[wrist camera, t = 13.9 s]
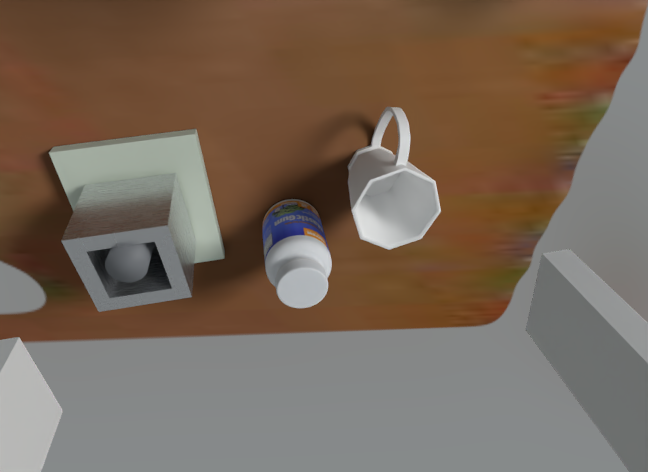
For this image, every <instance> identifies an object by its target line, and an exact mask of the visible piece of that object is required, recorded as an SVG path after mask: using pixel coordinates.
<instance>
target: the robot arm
mask: <svg viewBox="0 0 648 472" xmlns="http://www.w3.org/2000/svg"><path fill="white" fill-rule="evenodd" d="M526 331H527V332H528V334H529V335H530V337H531V338H532V339H533V341H534V342H535V343H536V345H537V346H538V347H539V349H540V350H541V352H542V353H543V354H544V356H545V357H546V358H547V360H548V361H549V362H550V364H551V365H552V367H553V368H554V369H555V371H556V372H557V373H558V374H559V376H560V377H561V379H562V380H563V382H564V383H565V384H566V386H567V387H568V388H569V390H570V391H571V393H572V394H573V395H574V397H575V398H576V399H577V401H578V402H579V403H580V405H581V406H582V408H583V409H584V410H585V412H586V413H587V414H588V416H589V417H590V418H591V420H592V421H593V423H594V424H595V425H596V427H597V428H598V429H599V431H600V432H601V433H602V435H603V436H604V438H605V439H606V440H607V442H608V443H609V444H610V446H611V447H612V448H613V450H614V451H615V453H616V454H617V455H618V457H619V458H620V459H621V461H622V462H623V463H624V465H625V466H626V467H627V469H628V470H629V472H648V323H647V322H646V321H645V320H644V319H643V318H642V317H641V316H640V315H639V314H638V313H637V312H636V311H635V310H634V309H633V308H631V307H630V306H629V305H628V304H627V303H626V302H625V301H624V300H623V299H622V298H621V297H620V296H619V295H618V294H617V293H616V292H615V291H614V290H612V289H611V288H610V287H609V286H608V285H607V284H606V283H605V282H604V281H603V280H602V279H601V278H600V277H599V276H598V275H597V274H596V273H594V272H593V271H592V270H591V269H590V268H589V267H588V266H587V265H586V264H585V263H584V262H583V261H582V260H581V259H580V258H578V256H576V255H575V254H574V253H573V252H572V251H571V250H570V249H567V250H560V251H555V252H549V253H542V256H541V261H540V266H539V270H538V275H537V280H536V285H535V289H534V294H533V298H532V303H531V308H530V312H529V317H528V322H527V326H526ZM62 412H63V410H62V409H61V407H60V405H59V404H58V402H57V400H56V398H55V397H54V395H53V393H52V392H51V390H50V388H49V387H48V385H47V383H46V382H45V380H44V378H43V376H42V375H41V373H40V371H39V370H38V368H37V366H36V365H35V363H34V361H33V360H32V358H31V356H30V355H29V353H28V351H27V349H26V348H25V346H24V344H23V343H22V341H21V339H20V338H19V337H17V338H10V339H4V340H0V472H41V470H42V467H43V464H44V462H45V459H46V456H47V453H48V451H49V448H50V445H51V442H52V439H53V436H54V434H55V431H56V428H57V426H58V423H59V420H60V417H61V415H62Z"/></svg>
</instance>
